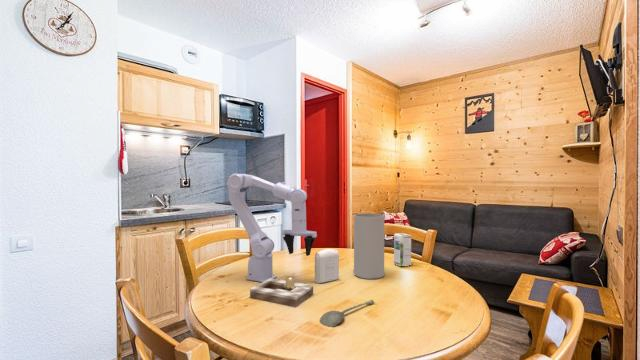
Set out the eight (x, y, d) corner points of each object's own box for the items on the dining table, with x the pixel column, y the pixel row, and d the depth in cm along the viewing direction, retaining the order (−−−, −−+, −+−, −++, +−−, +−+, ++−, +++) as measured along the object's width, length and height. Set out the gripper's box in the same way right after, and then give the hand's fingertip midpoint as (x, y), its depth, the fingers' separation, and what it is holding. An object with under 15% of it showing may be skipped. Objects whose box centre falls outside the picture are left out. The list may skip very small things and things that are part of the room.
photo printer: (334, 276, 127) (334, 246, 127) (340, 279, 123) (340, 248, 123) (313, 281, 121) (312, 249, 121) (319, 284, 118) (319, 252, 118)
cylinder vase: (382, 270, 135) (382, 213, 135) (385, 280, 123) (385, 217, 122) (353, 269, 136) (353, 213, 136) (354, 279, 124) (354, 216, 124)
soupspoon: (314, 324, 88) (330, 334, 83) (314, 313, 88) (330, 322, 83) (365, 301, 103) (381, 308, 98) (365, 291, 102) (381, 298, 97)
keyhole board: (250, 297, 105) (250, 288, 105) (270, 286, 116) (270, 278, 116) (296, 307, 97) (296, 297, 97) (313, 294, 108) (313, 285, 108)
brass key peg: (280, 296, 105) (280, 278, 105) (288, 291, 109) (288, 274, 109) (291, 298, 102) (291, 280, 102) (299, 294, 107) (299, 276, 107)
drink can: (393, 264, 145) (393, 233, 144) (403, 263, 147) (403, 232, 147) (401, 267, 139) (401, 235, 139) (411, 266, 142) (411, 234, 142)
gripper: (319, 219, 122) (320, 253, 123) (288, 217, 129) (289, 250, 129) (311, 221, 116) (312, 258, 116) (279, 220, 122) (279, 254, 122)
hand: (299, 254), depth 122 cm, fingers open, 7 cm apart
